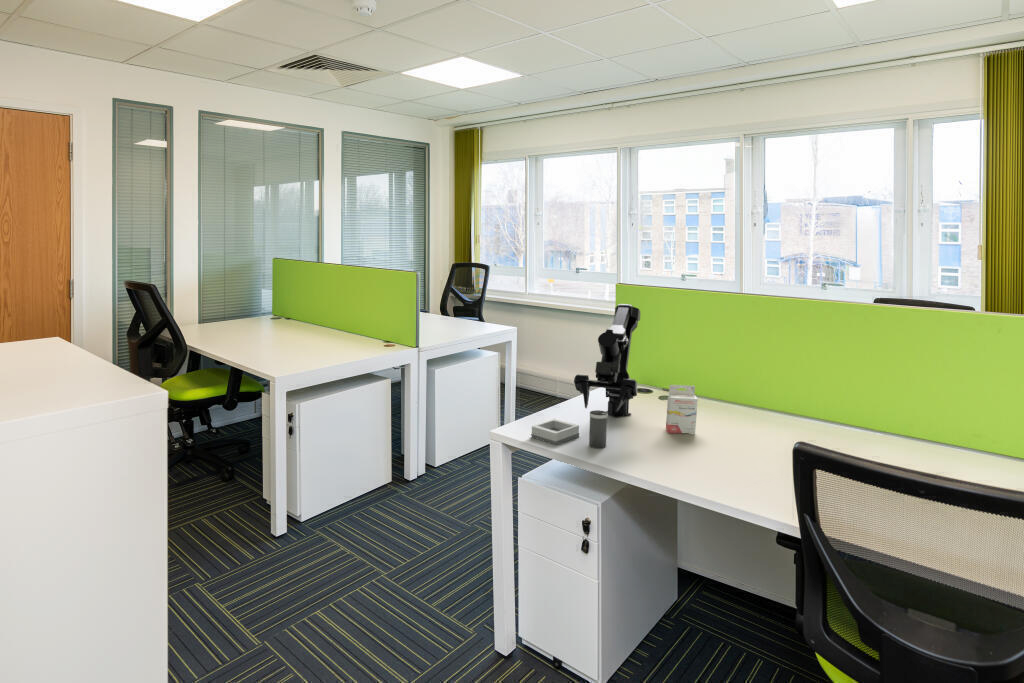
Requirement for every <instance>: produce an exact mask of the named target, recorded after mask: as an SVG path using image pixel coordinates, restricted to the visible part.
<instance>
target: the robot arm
mask: <svg viewBox="0 0 1024 683" xmlns="http://www.w3.org/2000/svg"><path fill="white" fill-rule="evenodd" d="M640 320H641V310H640V308H638V307H635V306H633V305H632V304H629V303H628V304H627V303H619V304H617V305H616V307H615V308H614V316H613V321H612V325H611V326H609V327H608V328H606V330H605V331H604V332H603V333H601V334H600V335H599V336H598V338H597V342H598V346H599V353H600V355H602V356H601V358H600V359H601V360H600V361H596V364H595V372H594V373H595V378H596V379H594V380H593V379H590V378H589V374H588V375H586V374H578V373H577V374H576V375H575V376H574V379H573V382H574V387H575V389H576V391H578V392H579V393H580V394H582V395H583V402H584V408H585V409H588V405H589V398H590V388H593V387H594V388H603V389H605V398H608V402H607V410H606V411H605V412H607V413H608V415H610V416H613V417H615V418H623V417H627V416H628V417H629V416H632V413H631V412H629V407H630V400H632V399H634V397H637V395H638V381H637V380H636V379H633V378H632V379H631V377H630V374H629V373H628V366H629V358H630V351H631V345H632V344H631V343H632V335H633V332H634V331H635V330H636V329H637V328H638V325H639V322H640Z"/></svg>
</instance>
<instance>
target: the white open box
mask: <svg viewBox="0 0 1024 683" xmlns="http://www.w3.org/2000/svg"><path fill="white" fill-rule="evenodd" d="M531 436H532V437H531ZM530 437H531V438H533V437H535V438H534V439H536V438H538V439H537V440H539V439H541V440H540V441H542V440H544V441H543V442H545V441H547V442H546V443H548V442H550V443H549V444H552V445H555V446H557V445H560V444H563V443H565V442H568V441H571V440H574V439H577V438H579V437H580V425H578V424H575V423H571V422H568V421H565V420H562V419H557V418H553V419H550V420H547V421H544V422H541V423H537V424H534V425H532V426H531V434H530Z"/></svg>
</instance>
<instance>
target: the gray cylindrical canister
mask: <svg viewBox="0 0 1024 683" xmlns="http://www.w3.org/2000/svg"><path fill="white" fill-rule="evenodd" d="M608 415H609V414H608V413H607V412H606V411H605V410H601V409H600V410H598V409H597V410H591V411H589V431H588V432H589V434H588V436H589V437H588V446H589V447H590V448H592V447H593V448H592V449H604V448H606V447H607V436H608V435H607V433H608V432H607V430H608Z"/></svg>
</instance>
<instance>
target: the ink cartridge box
mask: <svg viewBox="0 0 1024 683" xmlns="http://www.w3.org/2000/svg"><path fill="white" fill-rule="evenodd" d="M668 388H669V389H668V394H667V405H666V406H667V407H666V420H665V421H666V422H665V429H666V431H667V433H668V434H676V433H689V434H688V435H696V428H697V427H696V426H697V416H698V415H697V414H698V402H699V401H698V400H699V399H698V397H697V396H696V395H695V391H696V386H695V385H687V384H685V385H684V384H669V386H668ZM679 389H683V390H679ZM692 433H693V434H692Z"/></svg>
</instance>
